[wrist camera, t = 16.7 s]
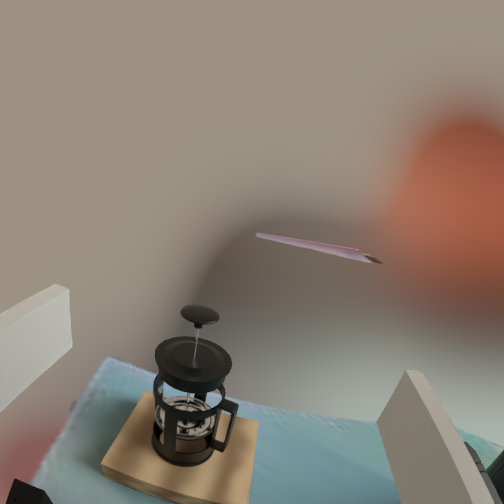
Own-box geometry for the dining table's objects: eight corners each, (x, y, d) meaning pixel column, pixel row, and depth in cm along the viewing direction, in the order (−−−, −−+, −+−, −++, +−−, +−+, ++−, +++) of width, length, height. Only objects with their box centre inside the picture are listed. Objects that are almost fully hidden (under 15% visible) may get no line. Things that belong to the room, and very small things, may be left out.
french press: (135, 445, 34) (133, 307, 28) (167, 411, 43) (179, 283, 37) (209, 482, 31) (241, 352, 25) (233, 440, 40) (269, 313, 34)
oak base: (253, 435, 46) (258, 421, 45) (241, 518, 28) (247, 508, 28) (145, 405, 47) (145, 390, 46) (104, 476, 29) (100, 463, 28)
